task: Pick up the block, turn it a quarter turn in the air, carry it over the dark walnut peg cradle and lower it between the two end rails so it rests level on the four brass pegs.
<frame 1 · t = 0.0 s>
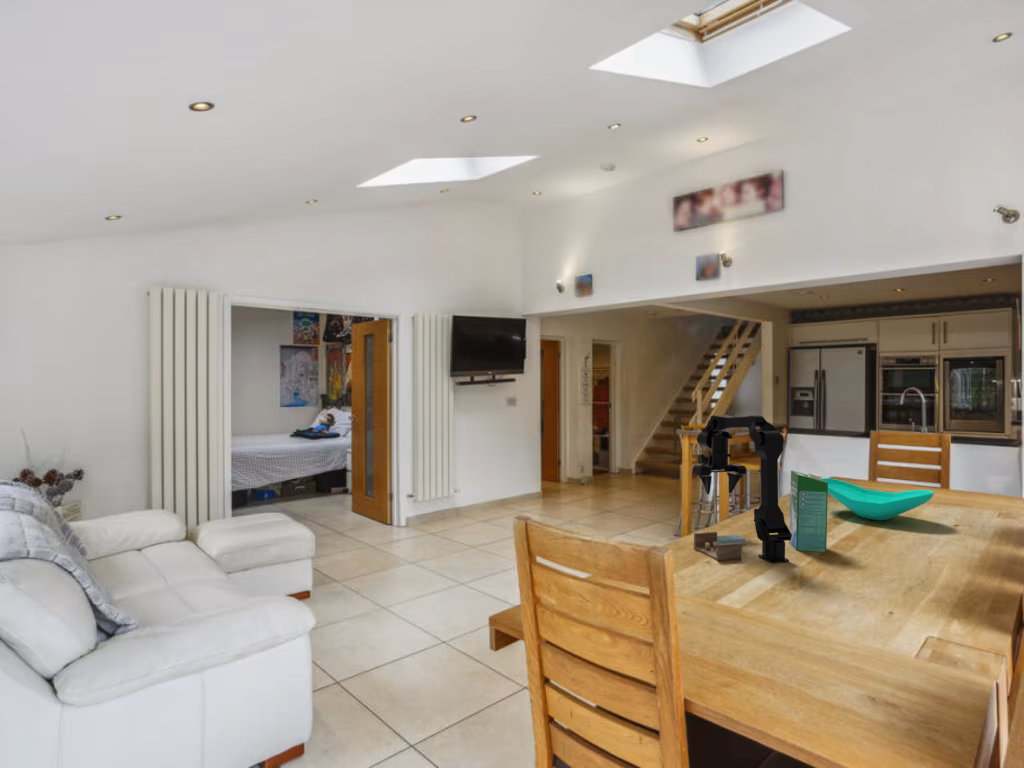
hand: (719, 493, 208), 15 cm above the table, fingers open, 9 cm apart
milk carton: (807, 547, 194), on the table
cradle: (716, 553, 186), on the table
table top decor: (872, 518, 234), on the table
block: (728, 544, 197), on the table
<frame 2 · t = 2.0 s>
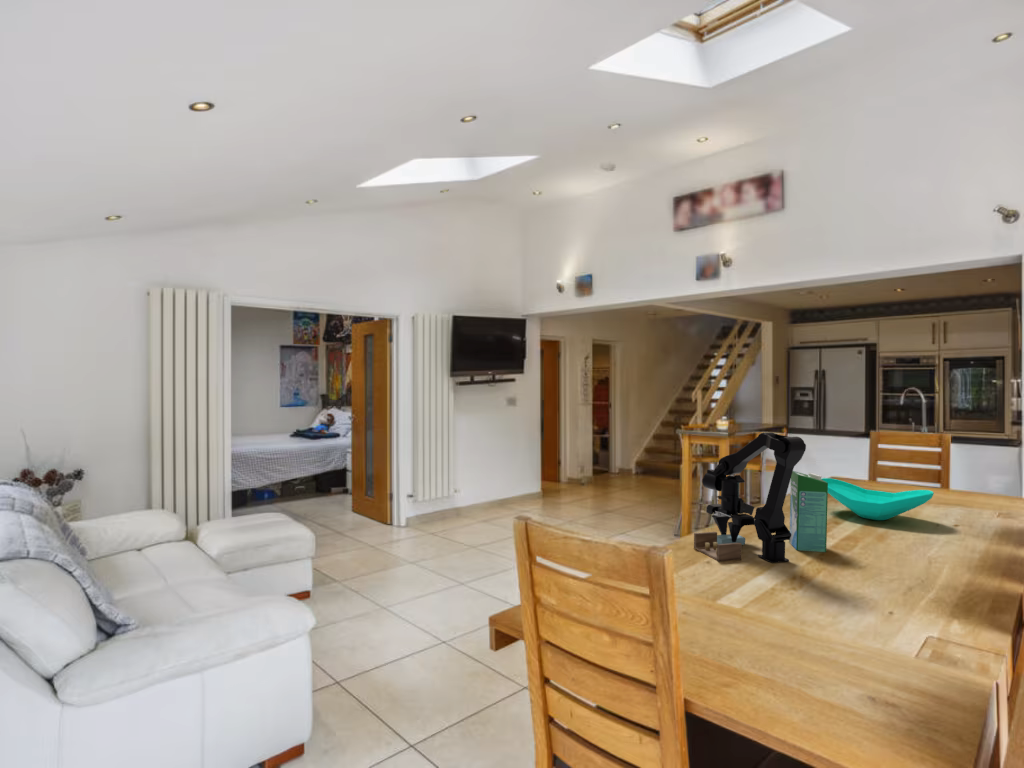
hand: (729, 539, 197), 1 cm above the table, fingers closed on block, 5 cm apart
block: (728, 543, 197), on the table, touching gripper
everything else where it was.
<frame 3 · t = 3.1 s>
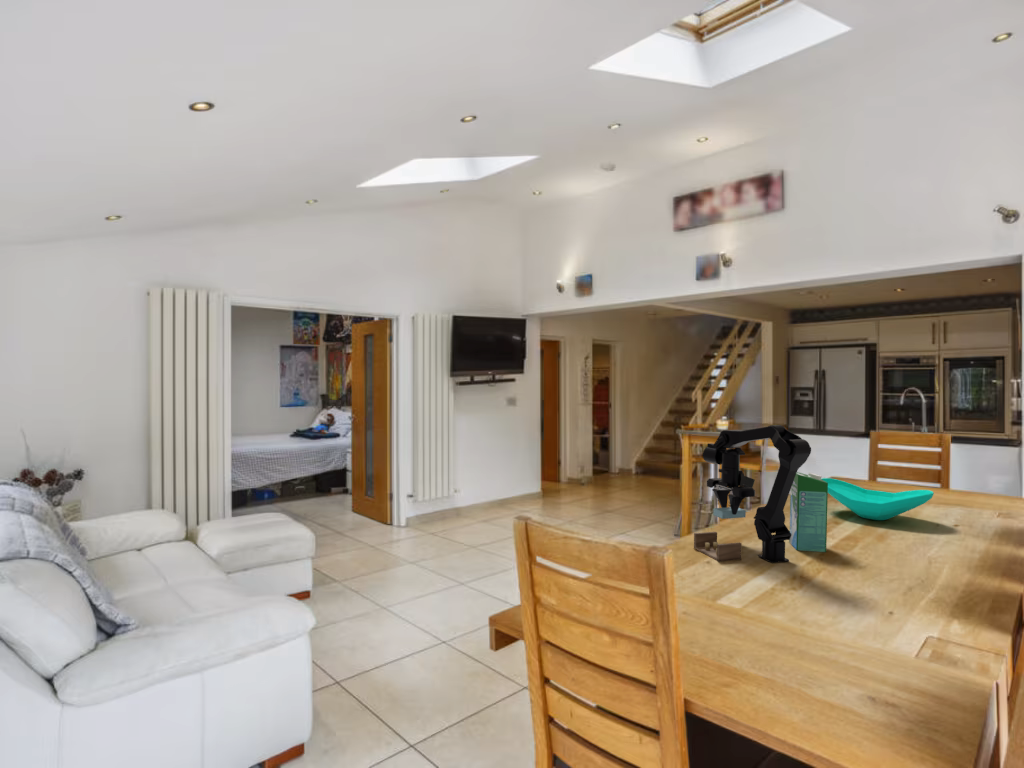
hand: (729, 512, 197), 10 cm above the table, fingers closed on block, 5 cm apart
block: (729, 516, 197), point 9 cm above the table, touching gripper
everything else where it was.
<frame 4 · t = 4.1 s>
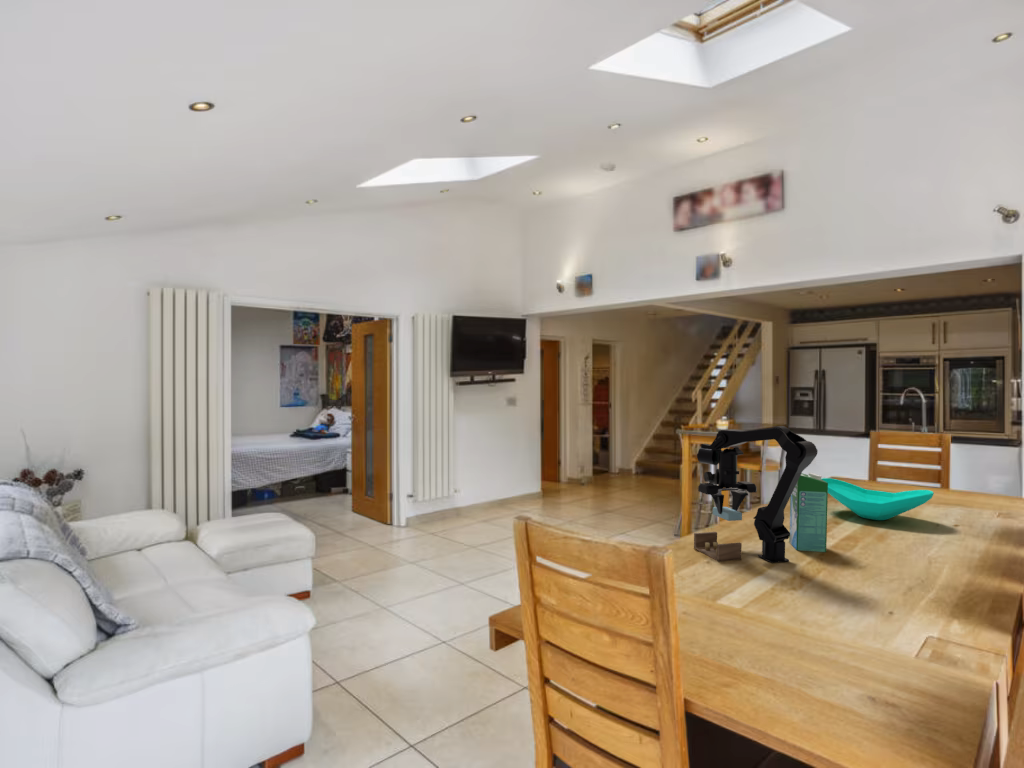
hand: (727, 513, 194), 11 cm above the table, fingers closed on block, 5 cm apart
block: (727, 517, 194), point 10 cm above the table, touching gripper
everything else where it was.
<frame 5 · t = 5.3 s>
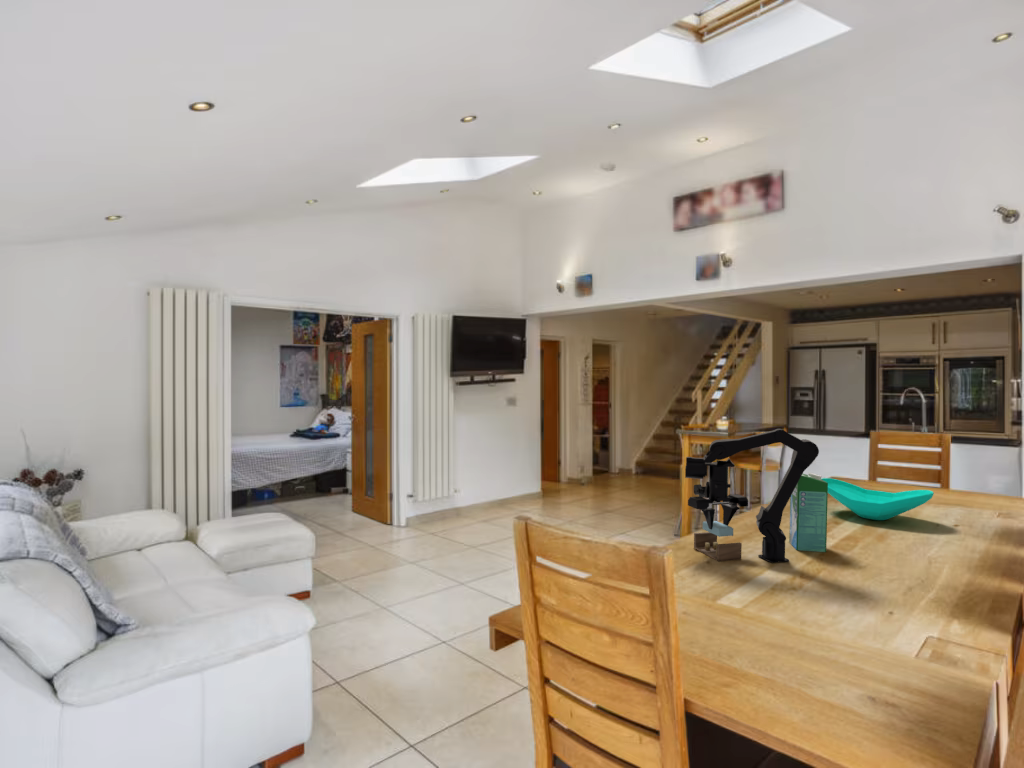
hand: (717, 528, 185), 8 cm above the table, fingers closed on block, 5 cm apart
block: (717, 532, 186), point 7 cm above the table, touching gripper
everything else where it was.
when the fingers open (5 cm above the table, at t = 6.2 s): block stays where it is, resting on cradle.
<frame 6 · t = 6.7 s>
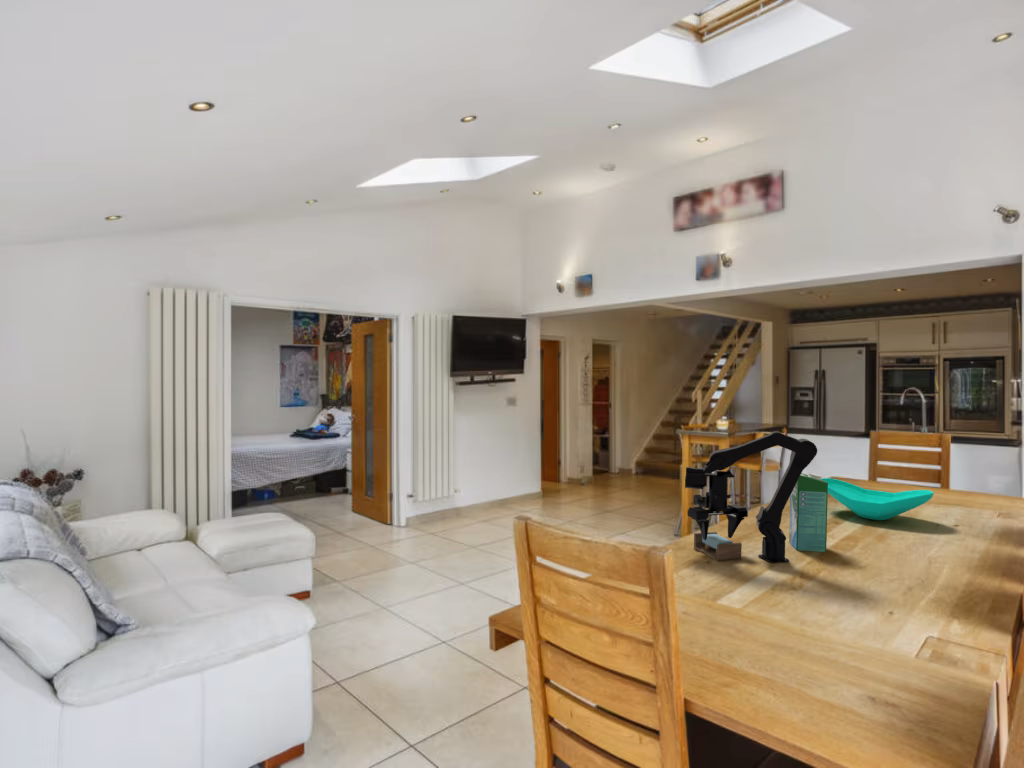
hand: (717, 538, 186), 5 cm above the table, fingers open, 9 cm apart
block: (717, 545, 186), point 3 cm above the table, touching cradle
everything else where it was.
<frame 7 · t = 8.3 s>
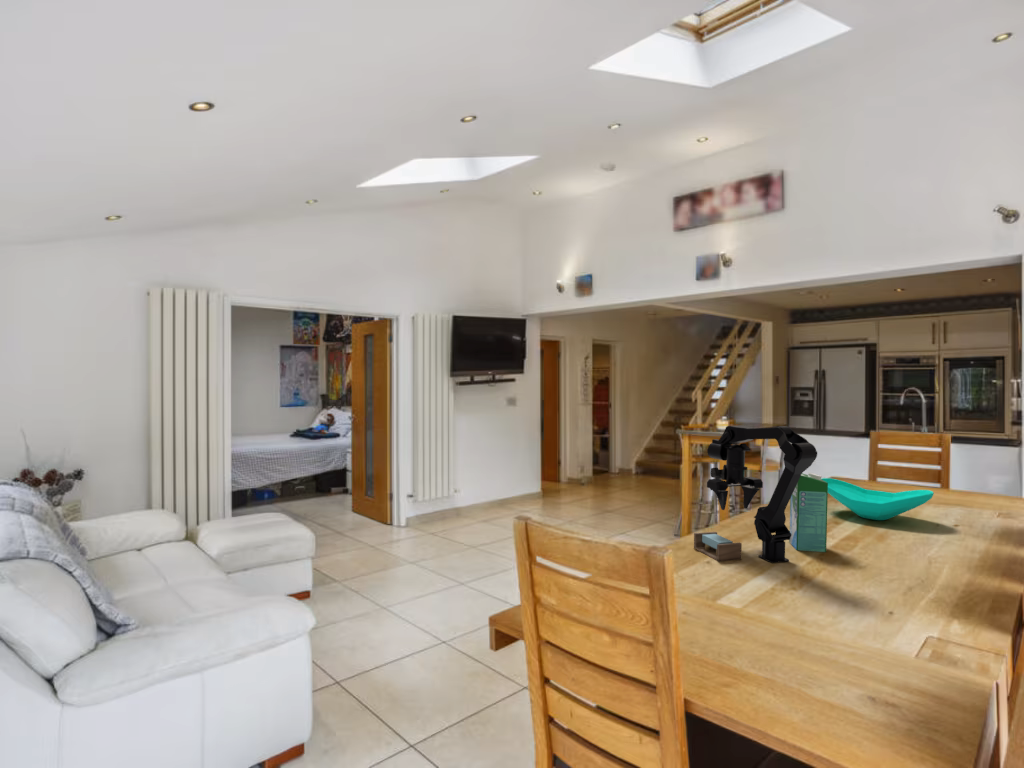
hand: (734, 508, 195), 12 cm above the table, fingers open, 9 cm apart
nothing on the table moved.
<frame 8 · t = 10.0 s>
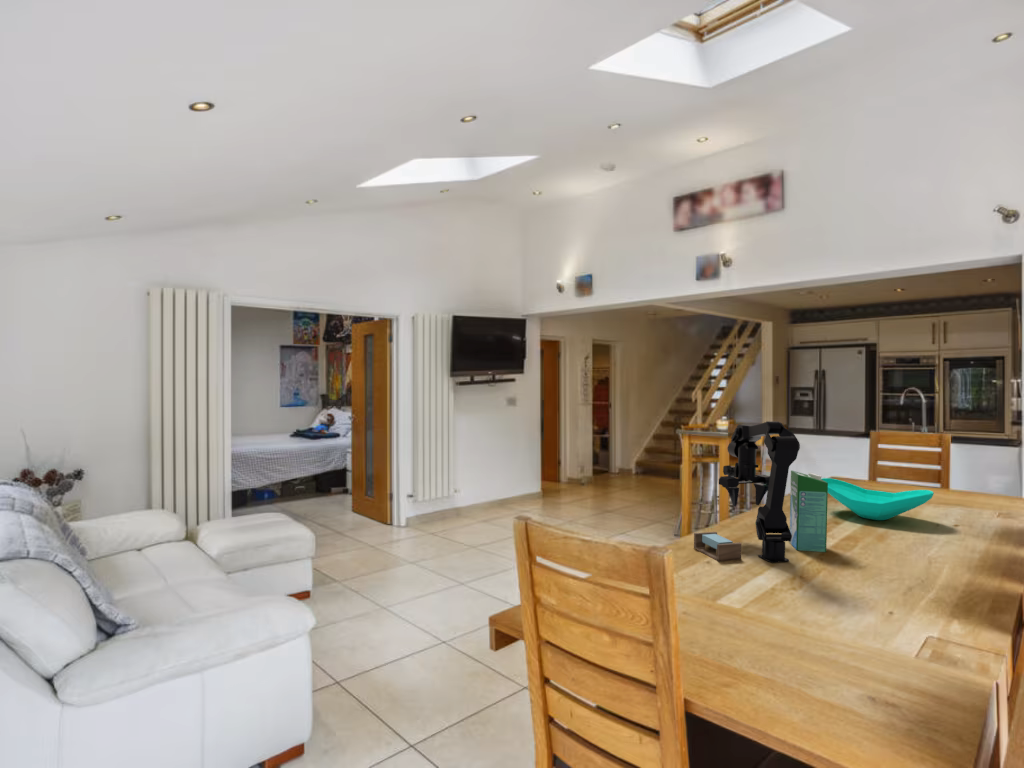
hand: (746, 505, 201), 12 cm above the table, fingers open, 9 cm apart
nothing on the table moved.
at the end: block 0.1 cm off-centre on the cradle, point 2.6 cm above the cradle's base; block tilted 0°; the gripper is holding nothing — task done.
